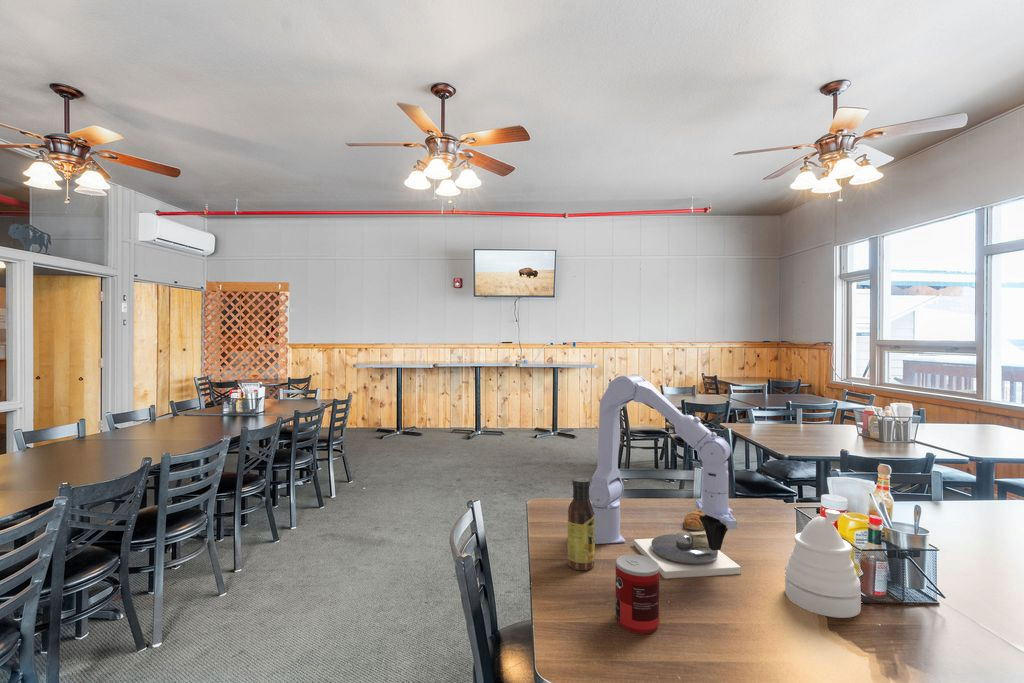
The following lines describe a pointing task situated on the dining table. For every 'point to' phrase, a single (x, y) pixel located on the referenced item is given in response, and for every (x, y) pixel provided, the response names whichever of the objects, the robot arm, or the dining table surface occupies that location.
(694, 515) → the pastry
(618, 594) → the canned food
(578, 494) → the sauce bottle
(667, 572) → the base
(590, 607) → the dining table surface
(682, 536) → the handwheel
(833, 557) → the honey pot
